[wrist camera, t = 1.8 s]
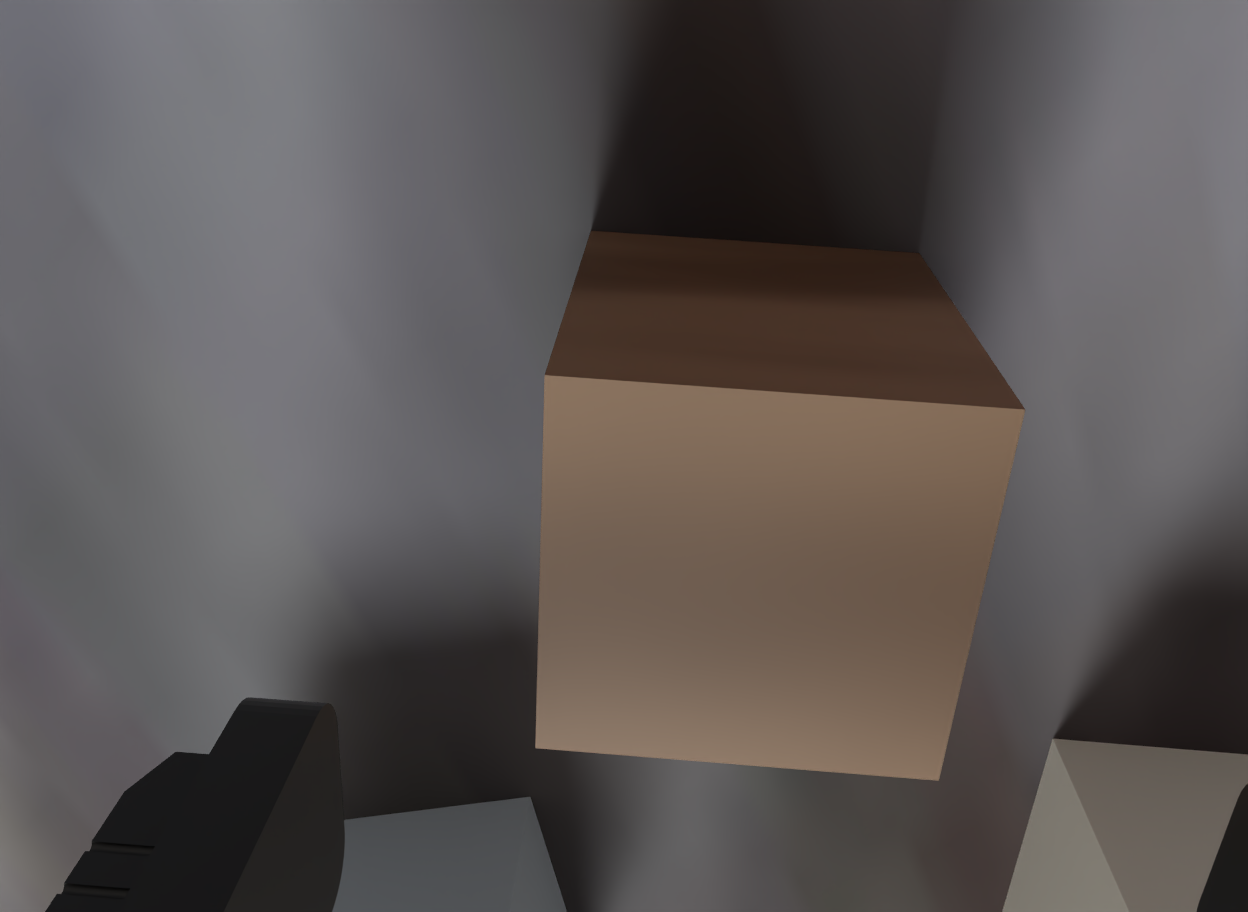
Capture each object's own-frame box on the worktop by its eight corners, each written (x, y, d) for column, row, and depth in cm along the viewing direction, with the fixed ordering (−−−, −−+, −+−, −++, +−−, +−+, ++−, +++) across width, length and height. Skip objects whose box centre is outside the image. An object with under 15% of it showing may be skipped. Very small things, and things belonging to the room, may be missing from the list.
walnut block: (590, 230, 17) (544, 374, 12) (918, 252, 17) (1025, 409, 11) (578, 514, 19) (535, 748, 14) (868, 536, 19) (938, 780, 14)
